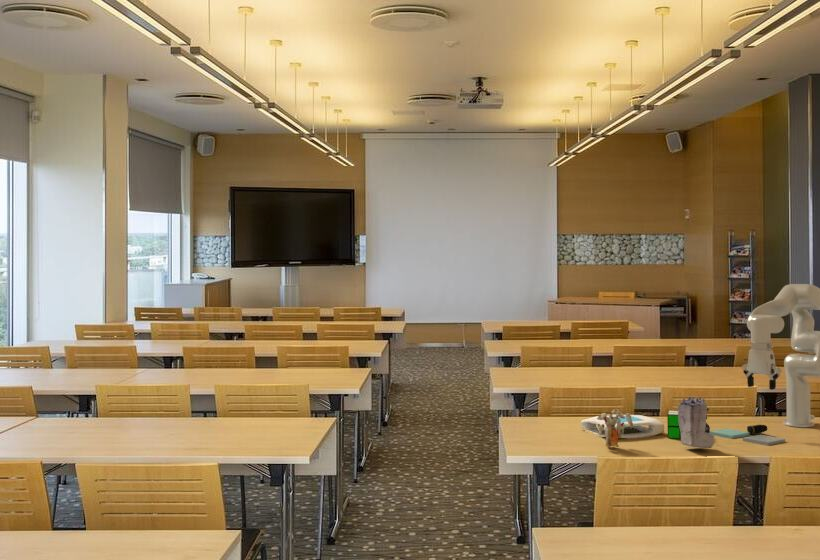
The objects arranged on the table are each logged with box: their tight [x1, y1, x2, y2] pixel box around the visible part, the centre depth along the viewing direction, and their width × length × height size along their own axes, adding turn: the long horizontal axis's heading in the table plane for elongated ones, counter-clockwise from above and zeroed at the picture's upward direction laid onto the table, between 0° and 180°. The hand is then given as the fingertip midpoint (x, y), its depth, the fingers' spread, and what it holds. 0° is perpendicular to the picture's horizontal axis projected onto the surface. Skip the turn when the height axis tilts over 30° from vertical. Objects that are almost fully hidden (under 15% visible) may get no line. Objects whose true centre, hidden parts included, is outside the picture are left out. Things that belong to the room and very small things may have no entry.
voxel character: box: [597, 408, 633, 448], centre depth 314 cm, size 11×10×15 cm
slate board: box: [742, 434, 786, 446], centre depth 325 cm, size 12×11×1 cm
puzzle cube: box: [667, 410, 681, 440], centre depth 335 cm, size 10×10×10 cm
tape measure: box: [746, 424, 768, 436], centre depth 338 cm, size 7×7×4 cm
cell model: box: [677, 396, 715, 449], centre depth 313 cm, size 13×11×20 cm
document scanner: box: [580, 414, 665, 439], centre depth 344 cm, size 21×28×6 cm
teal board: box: [709, 428, 751, 440], centre depth 339 cm, size 12×11×1 cm
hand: (761, 387), depth 332 cm, fingers open, 9 cm apart
